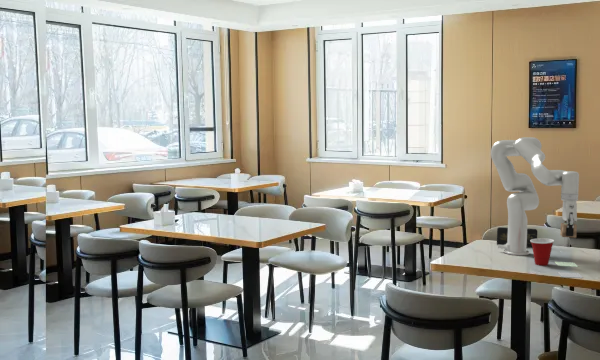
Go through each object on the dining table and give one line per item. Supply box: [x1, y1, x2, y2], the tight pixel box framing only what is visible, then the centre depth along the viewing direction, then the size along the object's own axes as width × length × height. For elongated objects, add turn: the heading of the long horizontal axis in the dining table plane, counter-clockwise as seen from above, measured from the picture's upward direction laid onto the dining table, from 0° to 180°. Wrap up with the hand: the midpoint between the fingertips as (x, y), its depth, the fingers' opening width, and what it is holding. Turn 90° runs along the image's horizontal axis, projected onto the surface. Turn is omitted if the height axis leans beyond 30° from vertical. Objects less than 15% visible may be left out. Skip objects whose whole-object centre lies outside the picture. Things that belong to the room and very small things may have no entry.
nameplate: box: [496, 226, 538, 248], centre depth 359 cm, size 21×2×10 cm, turn 77°
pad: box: [554, 261, 579, 268], centre depth 313 cm, size 9×9×1 cm
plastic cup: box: [530, 237, 555, 267], centre depth 312 cm, size 11×11×12 cm
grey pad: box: [557, 271, 584, 279], centre depth 290 cm, size 9×9×1 cm
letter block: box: [560, 222, 578, 239], centre depth 311 cm, size 6×6×6 cm
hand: (568, 234), depth 311 cm, fingers closed on letter block, 6 cm apart
